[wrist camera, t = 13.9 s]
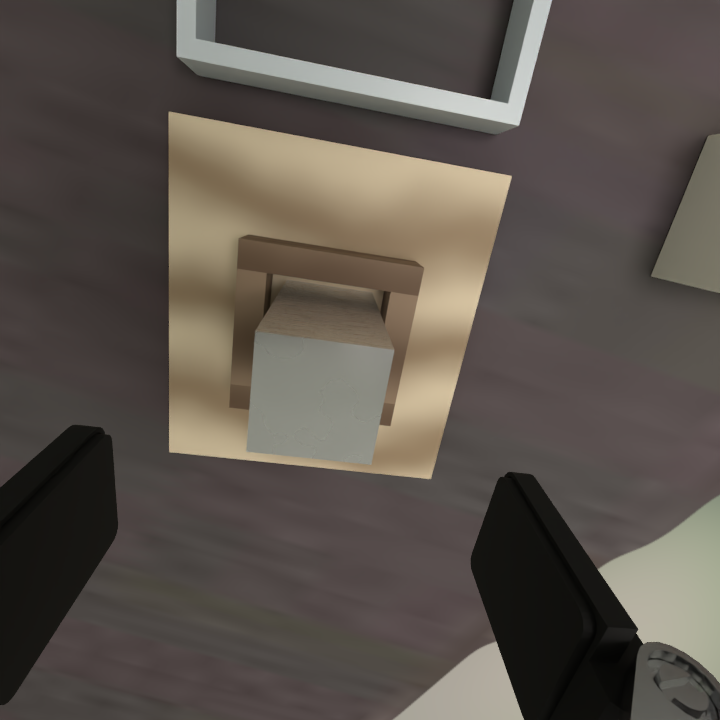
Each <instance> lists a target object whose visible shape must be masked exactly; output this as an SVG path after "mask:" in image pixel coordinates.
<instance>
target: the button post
mask: <svg viewBox="0 0 720 720" xmlns="http://www.w3.org/2000/svg"><path fill="white" fill-rule="evenodd" d="M651 277H655V278H659V279H663V280H668V281H672V282H676V283H680V284H684V285H688V286H692V287H696V288H700V289H705V290H709V291H713V292H717V293H720V134H714V135H708V137H707V140H706V142H705V145H704V147H703V149H702V152H701V154H700V157H699V159H698V162H697V164H696V167H695V169H694V171H693V174H692V176H691V179H690V181H689V184H688V186H687V189H686V191H685V193H684V196H683V198H682V201H681V203H680V206H679V208H678V211H677V213H676V215H675V218H674V220H673V223H672V225H671V228H670V230H669V233H668V235H667V237H666V240H665V242H664V245H663V247H662V250H661V252H660V255H659V257H658V259H657V262H656V264H655V267H654V269H653V272H652V274H651Z"/></svg>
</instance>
